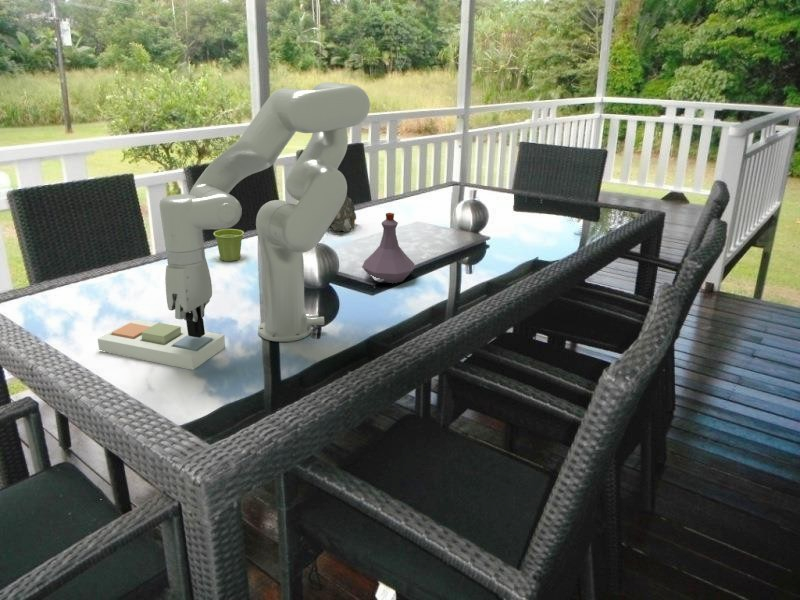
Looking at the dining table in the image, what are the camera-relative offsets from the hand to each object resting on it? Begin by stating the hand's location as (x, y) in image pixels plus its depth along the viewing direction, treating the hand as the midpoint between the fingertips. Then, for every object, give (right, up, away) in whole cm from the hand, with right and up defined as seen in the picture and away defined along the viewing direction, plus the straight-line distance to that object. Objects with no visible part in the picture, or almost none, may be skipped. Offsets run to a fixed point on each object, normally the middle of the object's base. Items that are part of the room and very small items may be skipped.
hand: (196, 335), depth 137 cm
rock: (+20, +35, +106) cm, 113 cm away
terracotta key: (-16, -1, +5) cm, 17 cm away
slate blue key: (-1, -3, +1) cm, 3 cm away
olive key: (-8, -1, +2) cm, 9 cm away
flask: (+41, +14, +53) cm, 68 cm away
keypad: (-8, -3, +3) cm, 10 cm away
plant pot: (-10, +21, +66) cm, 70 cm away
